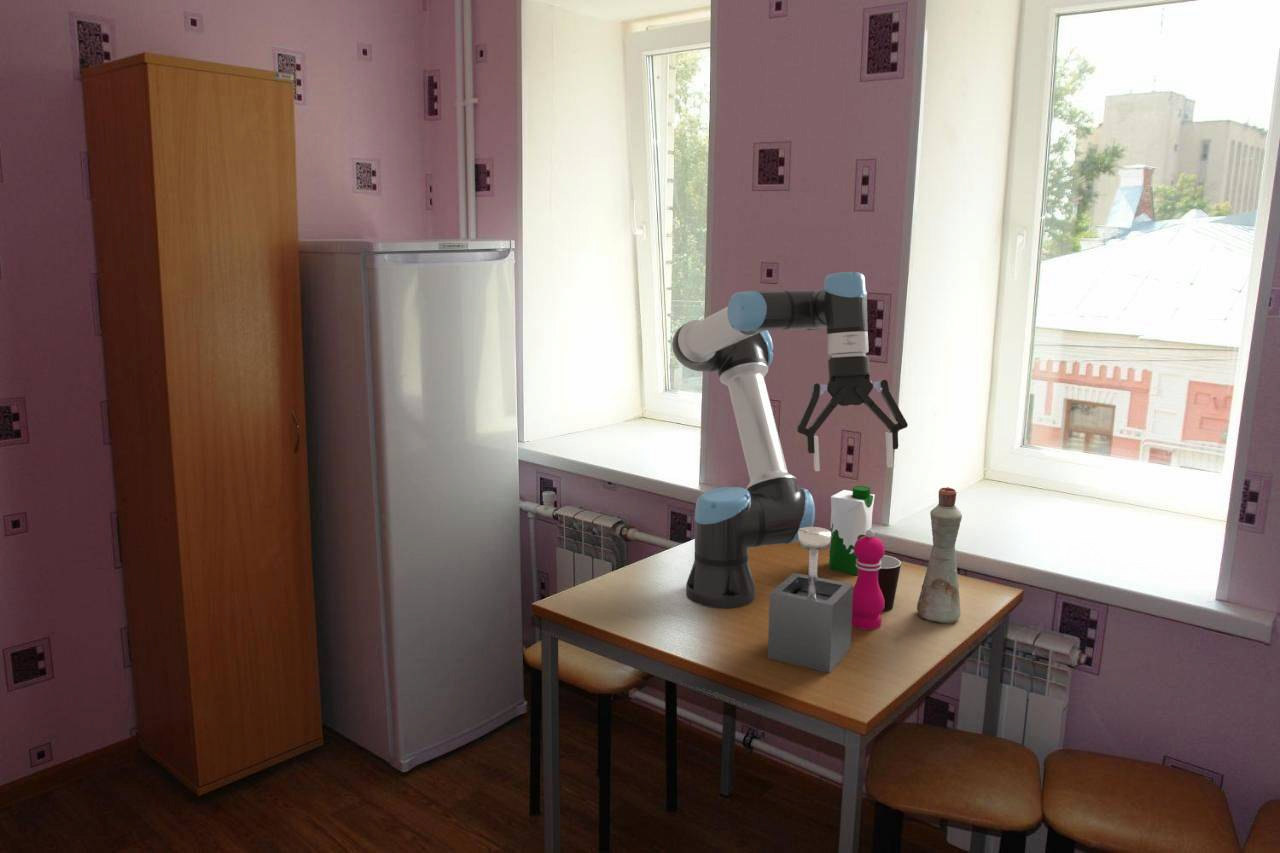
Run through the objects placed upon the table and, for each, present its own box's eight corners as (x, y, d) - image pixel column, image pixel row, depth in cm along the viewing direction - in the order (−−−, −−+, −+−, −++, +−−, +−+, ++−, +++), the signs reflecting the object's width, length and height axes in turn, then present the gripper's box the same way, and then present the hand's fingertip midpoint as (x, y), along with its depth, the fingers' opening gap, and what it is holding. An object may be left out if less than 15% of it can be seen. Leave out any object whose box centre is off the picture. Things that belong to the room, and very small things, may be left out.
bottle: (910, 620, 194) (919, 488, 189) (922, 605, 202) (931, 478, 196) (953, 629, 190) (963, 494, 184) (964, 614, 197) (974, 484, 192)
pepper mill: (844, 616, 196) (848, 523, 192) (879, 616, 196) (884, 524, 192) (850, 630, 189) (855, 535, 185) (887, 631, 189) (892, 535, 185)
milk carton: (859, 577, 218) (863, 494, 214) (823, 569, 223) (827, 487, 219) (874, 567, 225) (878, 485, 221) (838, 559, 230) (842, 479, 226)
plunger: (783, 609, 175) (786, 534, 172) (798, 595, 182) (801, 522, 179) (824, 618, 171) (828, 541, 168) (838, 604, 178) (842, 529, 175)
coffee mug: (899, 615, 196) (902, 569, 194) (857, 611, 198) (859, 566, 196) (896, 594, 208) (898, 551, 206) (856, 591, 209) (858, 548, 207)
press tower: (767, 658, 176) (769, 592, 174) (791, 635, 187) (793, 572, 184) (829, 673, 170) (832, 605, 168) (850, 648, 181) (853, 584, 178)
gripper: (782, 359, 174) (788, 473, 175) (920, 351, 172) (925, 467, 173) (779, 360, 181) (785, 470, 182) (911, 352, 180) (916, 463, 180)
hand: (853, 469), depth 178 cm, fingers open, 13 cm apart
